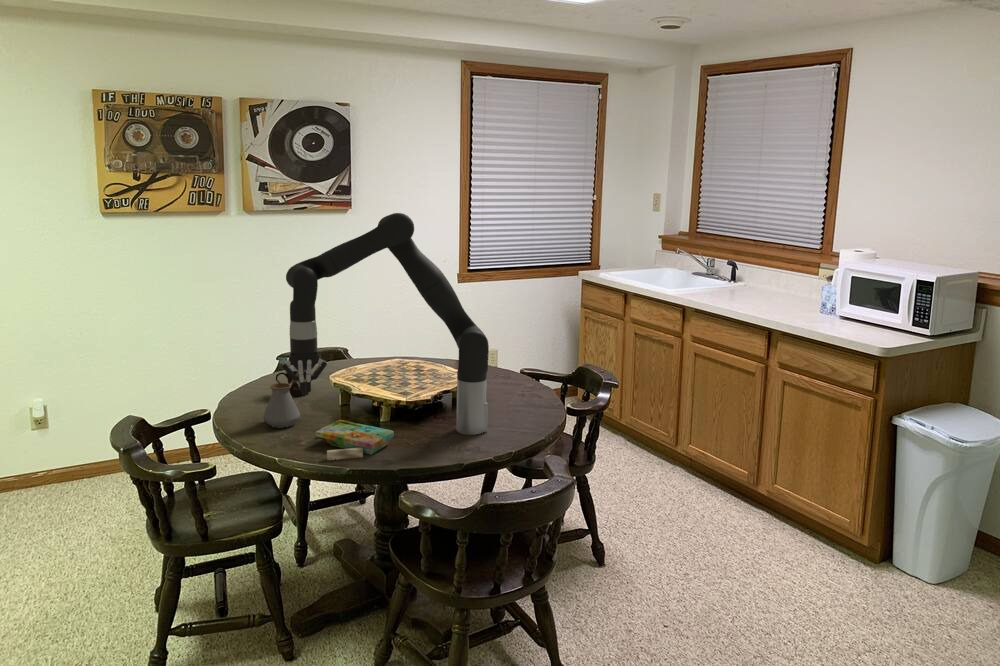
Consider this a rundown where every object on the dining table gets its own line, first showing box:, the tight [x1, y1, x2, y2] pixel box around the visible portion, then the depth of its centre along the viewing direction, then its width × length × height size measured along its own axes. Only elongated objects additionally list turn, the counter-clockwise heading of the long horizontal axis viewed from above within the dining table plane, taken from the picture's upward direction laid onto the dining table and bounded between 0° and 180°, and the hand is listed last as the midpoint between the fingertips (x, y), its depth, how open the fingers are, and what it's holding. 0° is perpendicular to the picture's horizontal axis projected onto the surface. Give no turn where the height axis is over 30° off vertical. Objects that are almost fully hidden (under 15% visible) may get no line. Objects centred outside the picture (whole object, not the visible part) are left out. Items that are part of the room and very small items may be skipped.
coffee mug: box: [275, 364, 309, 398], centre depth 277 cm, size 12×9×10 cm
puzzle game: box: [315, 419, 395, 455], centre depth 230 cm, size 12×5×20 cm
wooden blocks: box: [326, 448, 364, 461], centre depth 230 cm, size 10×20×2 cm, turn 17°
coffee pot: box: [262, 371, 301, 429], centre depth 250 cm, size 21×12×15 cm, turn 168°
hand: (305, 393), depth 223 cm, fingers closed
